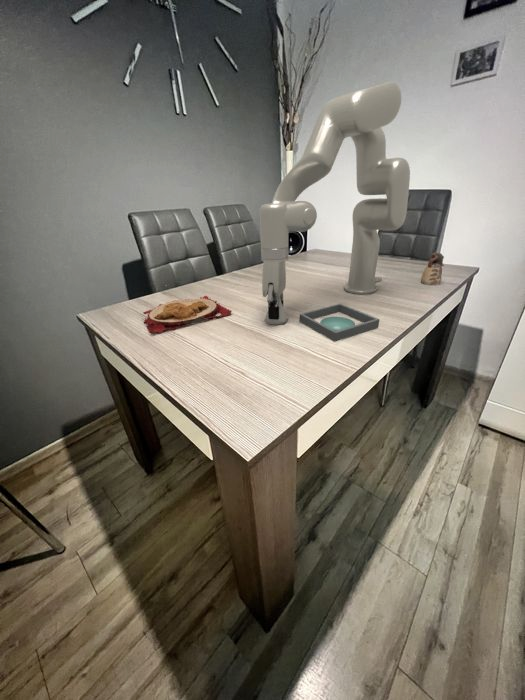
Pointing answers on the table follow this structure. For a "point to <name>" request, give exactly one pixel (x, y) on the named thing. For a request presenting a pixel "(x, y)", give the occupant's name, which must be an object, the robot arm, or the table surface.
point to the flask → (282, 314)
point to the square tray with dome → (338, 322)
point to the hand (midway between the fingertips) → (276, 314)
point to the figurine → (433, 270)
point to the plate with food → (182, 313)
